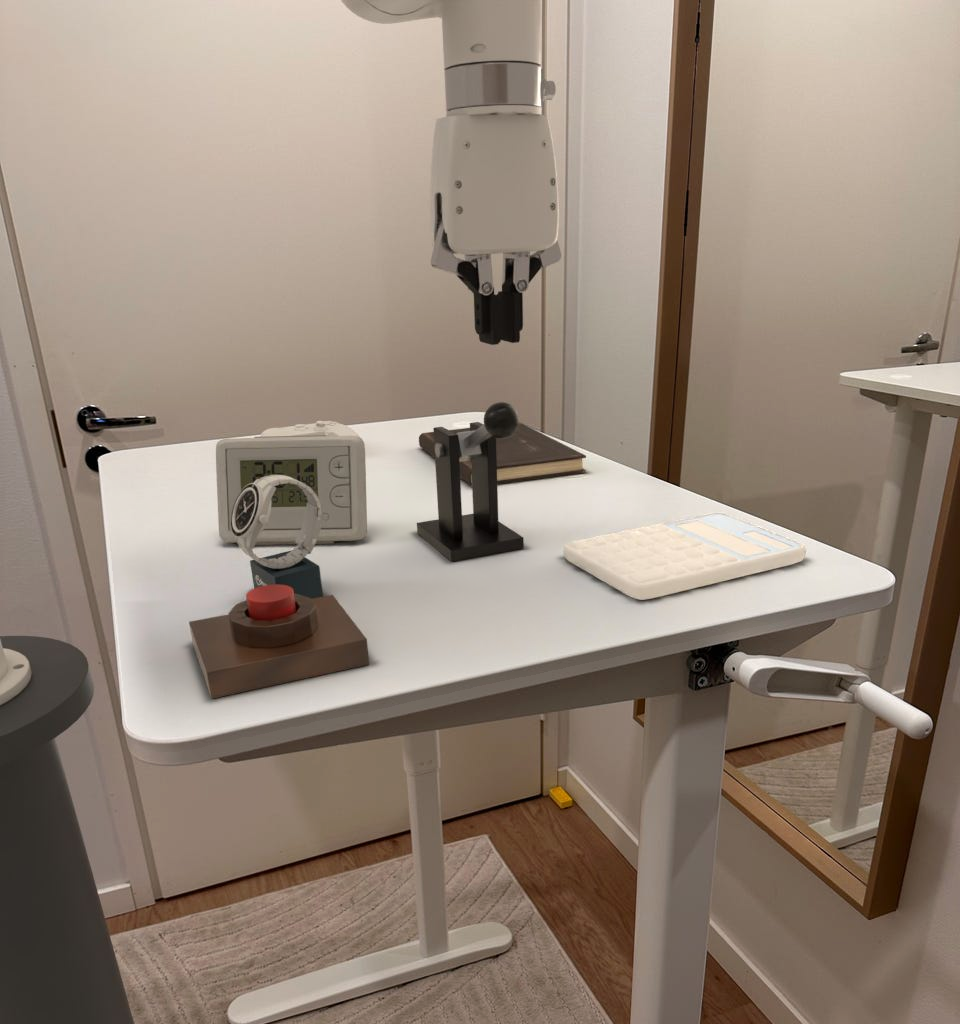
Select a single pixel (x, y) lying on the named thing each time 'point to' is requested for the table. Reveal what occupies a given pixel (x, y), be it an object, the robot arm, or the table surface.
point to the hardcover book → (522, 456)
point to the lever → (488, 430)
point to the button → (271, 602)
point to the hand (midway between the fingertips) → (499, 340)
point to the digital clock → (308, 459)
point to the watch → (288, 565)
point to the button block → (276, 646)
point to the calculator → (682, 554)
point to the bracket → (482, 527)
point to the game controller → (312, 430)
